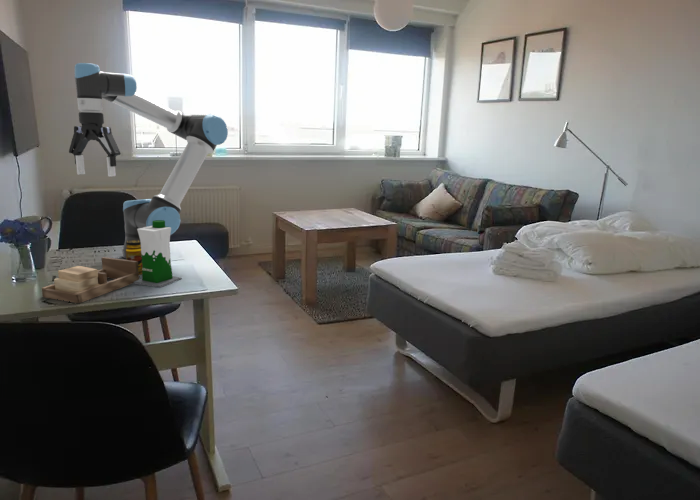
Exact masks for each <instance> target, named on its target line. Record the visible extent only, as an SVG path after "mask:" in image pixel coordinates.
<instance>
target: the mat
mask: <svg viewBox="0 0 700 500" xmlns="http://www.w3.org/2000/svg"><path fill="white" fill-rule="evenodd" d="M172 276H173V278H172V279H169V280H166V281H163V282H159V283H153V282H148V281H144V280H142V278H141V279H140V278H139V280H137V281H134V282H133V284H135V285H142V286H146V287H147V286H148V287H153V286H154V287H155V288H163V287H165V286H167V285H170V284H173V283H175V282H177V281H181V280H182V276H175V275H172Z"/></svg>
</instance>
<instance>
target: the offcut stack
mask: <svg viewBox="0 0 700 500" xmlns="http://www.w3.org/2000/svg"><path fill="white" fill-rule="evenodd" d="M98 270H99V269H97V268H93V267H87V266H81V265H76V266H72V267H71V266H70V267H67V268H64V269H61V270H60V269H59V270H57V274H58V275H57V276H58V277H57V278H54V279H53V282H54V283H53V284H55V290H59V291H65V292H72V293H77V292H80V291H83V290H86V289H88V288H91V287H94V286H97V285H100V284H98Z"/></svg>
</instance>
